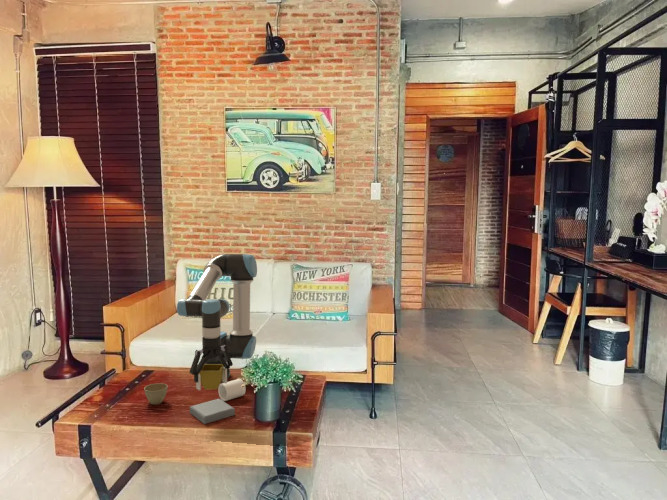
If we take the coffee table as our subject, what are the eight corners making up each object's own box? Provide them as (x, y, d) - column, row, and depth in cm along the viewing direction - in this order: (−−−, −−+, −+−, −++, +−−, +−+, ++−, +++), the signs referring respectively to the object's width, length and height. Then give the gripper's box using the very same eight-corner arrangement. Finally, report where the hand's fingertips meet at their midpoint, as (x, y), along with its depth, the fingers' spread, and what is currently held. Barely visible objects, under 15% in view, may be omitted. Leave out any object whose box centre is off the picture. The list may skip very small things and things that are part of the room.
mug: (245, 397, 225) (245, 381, 224) (227, 403, 218) (227, 386, 217) (231, 390, 233) (231, 374, 232) (213, 395, 226) (213, 379, 226)
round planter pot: (160, 407, 212) (159, 392, 211) (139, 405, 214) (139, 390, 213) (172, 399, 222) (171, 384, 221) (152, 397, 224) (152, 382, 223)
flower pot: (199, 391, 201) (198, 370, 200) (203, 384, 210) (203, 364, 209) (220, 391, 201) (219, 370, 200) (224, 384, 210) (224, 364, 209)
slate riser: (219, 404, 216) (219, 397, 216) (234, 414, 206) (234, 408, 206) (189, 412, 207) (189, 406, 207) (204, 424, 197) (204, 417, 197)
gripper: (232, 330, 214) (232, 377, 216) (180, 339, 199) (181, 389, 200) (240, 333, 208) (240, 382, 210) (188, 343, 193) (189, 395, 195)
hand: (211, 385), depth 205 cm, fingers closed on flower pot, 12 cm apart
